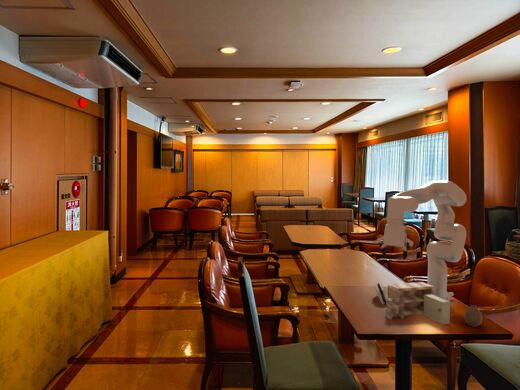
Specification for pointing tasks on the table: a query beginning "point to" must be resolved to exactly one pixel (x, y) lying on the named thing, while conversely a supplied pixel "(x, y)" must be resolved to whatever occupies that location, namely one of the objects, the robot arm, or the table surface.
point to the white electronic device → (381, 293)
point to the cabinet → (406, 299)
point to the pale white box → (437, 309)
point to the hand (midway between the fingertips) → (394, 257)
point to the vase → (473, 316)
